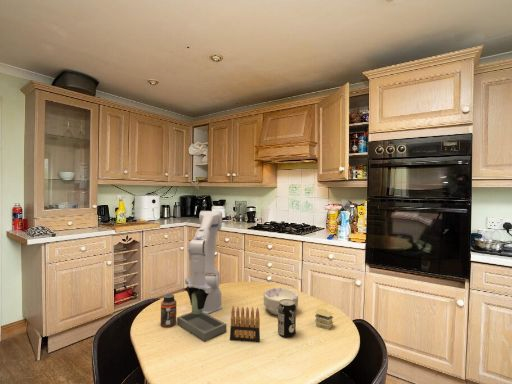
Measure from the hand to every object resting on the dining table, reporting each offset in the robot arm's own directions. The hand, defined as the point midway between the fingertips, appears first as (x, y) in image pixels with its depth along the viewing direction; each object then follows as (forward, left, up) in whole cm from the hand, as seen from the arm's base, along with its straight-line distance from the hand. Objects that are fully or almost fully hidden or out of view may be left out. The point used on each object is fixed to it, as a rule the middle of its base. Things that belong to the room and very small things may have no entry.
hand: (197, 306), depth 108 cm
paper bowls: (-36, +12, -9) cm, 39 cm away
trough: (-2, 0, -9) cm, 9 cm away
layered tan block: (-37, +33, -9) cm, 50 cm away
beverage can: (-22, +26, -9) cm, 35 cm away
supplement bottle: (+5, -12, -9) cm, 16 cm away
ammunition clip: (-8, +18, -9) cm, 22 cm away
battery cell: (0, 0, -2) cm, 2 cm away
